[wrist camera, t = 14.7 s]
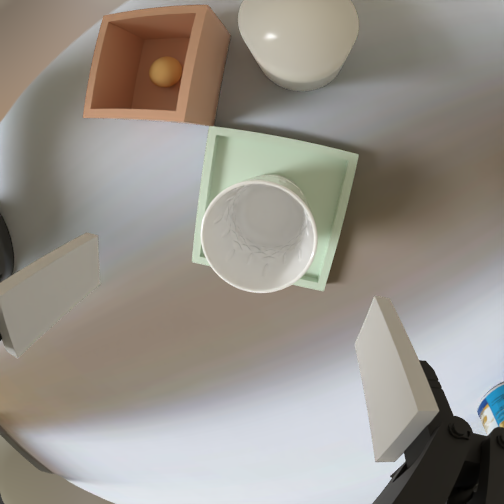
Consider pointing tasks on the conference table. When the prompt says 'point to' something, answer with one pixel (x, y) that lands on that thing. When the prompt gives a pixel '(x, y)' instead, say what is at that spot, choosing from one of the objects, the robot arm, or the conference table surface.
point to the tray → (289, 166)
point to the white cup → (260, 234)
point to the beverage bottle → (492, 409)
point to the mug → (299, 39)
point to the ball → (165, 71)
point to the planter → (149, 50)
